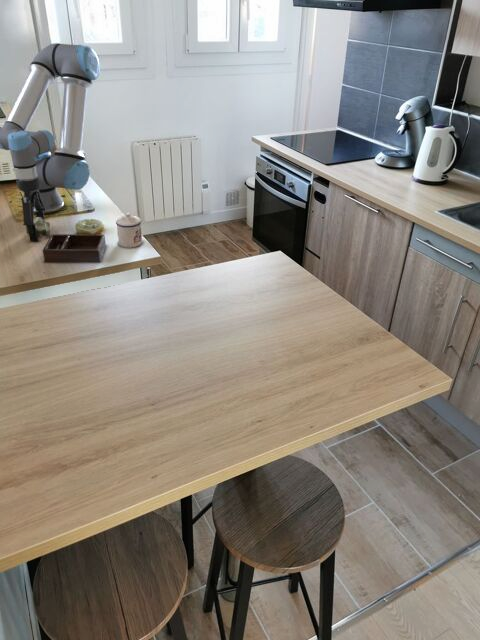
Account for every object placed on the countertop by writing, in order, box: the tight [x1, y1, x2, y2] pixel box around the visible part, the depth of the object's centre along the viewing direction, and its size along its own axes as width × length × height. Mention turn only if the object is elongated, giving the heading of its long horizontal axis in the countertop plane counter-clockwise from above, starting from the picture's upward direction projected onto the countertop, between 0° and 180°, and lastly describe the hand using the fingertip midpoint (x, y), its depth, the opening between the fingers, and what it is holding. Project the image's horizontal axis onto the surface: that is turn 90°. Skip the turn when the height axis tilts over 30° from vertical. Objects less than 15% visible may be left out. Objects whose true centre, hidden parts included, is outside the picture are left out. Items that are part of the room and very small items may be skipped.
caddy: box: [42, 233, 107, 263], centre depth 184 cm, size 13×19×5 cm
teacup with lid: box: [115, 212, 143, 248], centre depth 192 cm, size 12×9×12 cm
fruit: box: [22, 216, 51, 238], centre depth 196 cm, size 9×9×8 cm
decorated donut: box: [74, 218, 105, 235], centre depth 200 cm, size 10×11×4 cm
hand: (38, 234), depth 197 cm, fingers open, 11 cm apart
